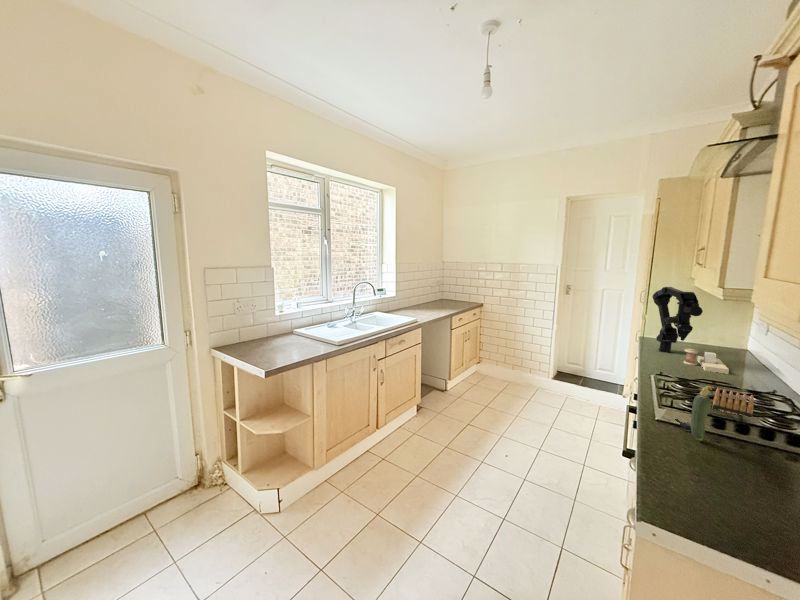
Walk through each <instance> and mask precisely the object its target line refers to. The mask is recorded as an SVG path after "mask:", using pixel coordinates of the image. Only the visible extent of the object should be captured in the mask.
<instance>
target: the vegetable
mask: <svg viewBox="0 0 800 600" xmlns="http://www.w3.org/2000/svg"><path fill="white" fill-rule="evenodd" d="M709 391H713V388H712V386H711V385H706V386H704V387H703V388H702V389H701V391H699V394H697V395H696V396H695V397H694V399H693V401H692V408H691V416H690V417H691V418H690V422H691V432H690V433H691V435H692V437H694V439H696V440H697V439H698V440H700V441H699V442H702V441H703V440H704V437H705V432H706V431H705V429H706V428H705V427H706V418H707V416H708V414H709V413H710V410H711V408H712V407H711V406H712V400H711V399H710V397H709V396H708V394H709Z"/></svg>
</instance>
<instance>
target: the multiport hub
mask: <svg viewBox="0 0 800 600" xmlns="http://www.w3.org/2000/svg"><path fill="white" fill-rule="evenodd" d="M675 420H676V421H677V422H679V423H680V425H681V427H683V428H684V429H686V430H691V425H690V423H689V422H687V423H685V422H684V423H682V422H680V421H679V420H678V419H675Z"/></svg>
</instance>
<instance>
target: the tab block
mask: <svg viewBox="0 0 800 600" xmlns="http://www.w3.org/2000/svg"><path fill="white" fill-rule="evenodd" d="M703 357H704V361H703V363H711V364H715V362H716V358H717V354H716V353H715V352H713V351H712V352H709V351H704V355H703Z"/></svg>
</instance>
